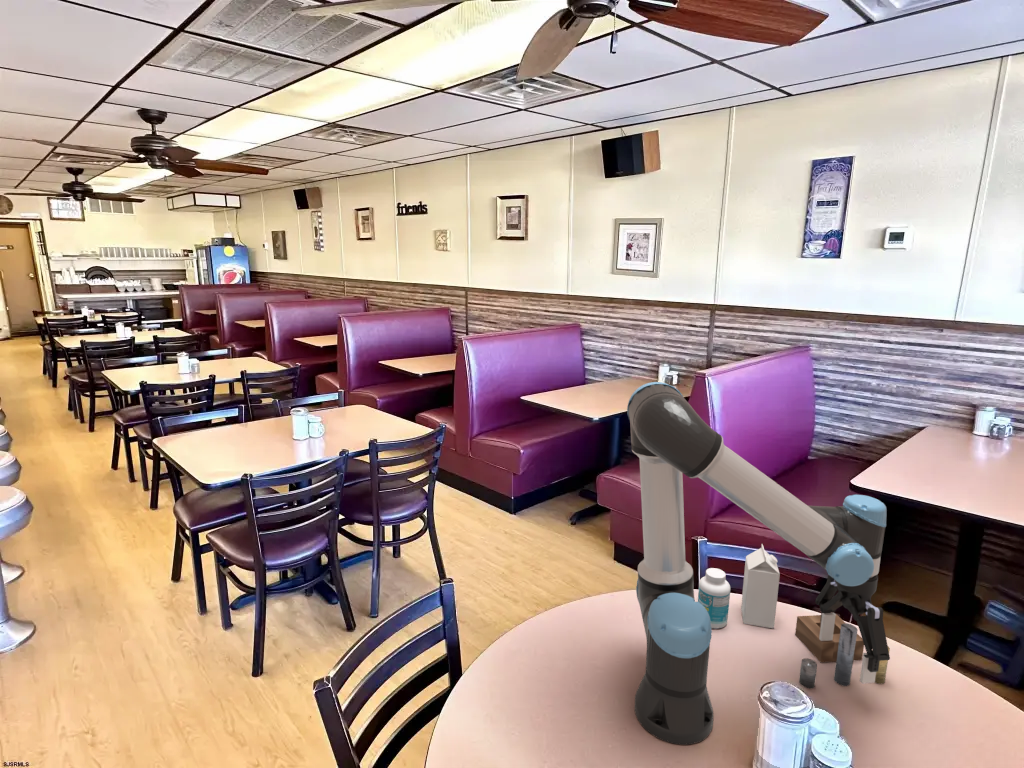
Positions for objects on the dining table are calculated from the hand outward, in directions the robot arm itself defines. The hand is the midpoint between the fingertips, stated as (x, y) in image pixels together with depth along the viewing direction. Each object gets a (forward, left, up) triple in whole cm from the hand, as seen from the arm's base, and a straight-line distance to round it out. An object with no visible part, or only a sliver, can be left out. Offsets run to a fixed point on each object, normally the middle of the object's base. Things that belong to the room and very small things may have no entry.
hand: (845, 659), depth 122 cm
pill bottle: (-19, +23, -5) cm, 30 cm away
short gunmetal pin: (-8, 0, -5) cm, 10 cm away
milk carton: (-7, +23, -5) cm, 25 cm away
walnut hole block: (+4, +11, -5) cm, 13 cm away
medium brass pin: (+8, 0, -5) cm, 9 cm away
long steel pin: (0, 0, -5) cm, 5 cm away
